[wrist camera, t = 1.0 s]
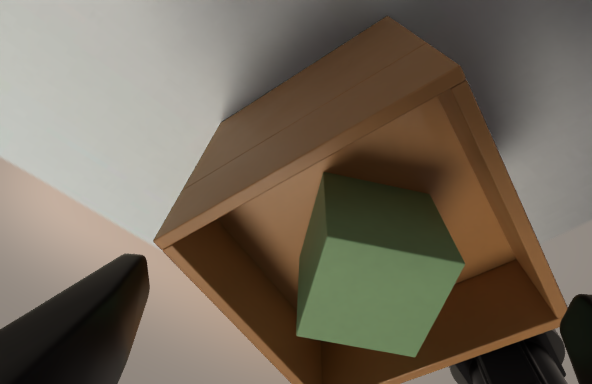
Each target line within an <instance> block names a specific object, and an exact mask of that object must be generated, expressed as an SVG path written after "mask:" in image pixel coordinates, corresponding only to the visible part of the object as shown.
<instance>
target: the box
mask: <svg viewBox="0 0 592 384" xmlns="http://www.w3.org/2000/svg"><path fill="white" fill-rule="evenodd" d="M323 172H327V173H332V174H337V175H342V176H346V177H351V178H356V179H361V180H365V181H370V182H375V183H379V184H384V185H389V186H394V187H398V188H403V189H408V190H413V191H417V192H422V193H427V194H430V196H431V197H432V199H433V201H434V203H435V205H436V207H437V209H438V211H439V213H440V215H441V217H442V219H443V221H444V223H445V225H446V227H447V229H448V231H449V233H450V235H451V237H452V239H453V241H454V243H455V244H456V246H457V248H458V250H459V252H460V254H461V256H462V258H463V260H464V262H465V266H464V268H463V270H462V271H461V273H460V275H459V277H458V279H457V281H456V283H455V284H454V286H453V288H452V290H451V292H450V294H449V296H448V297H447V299H446V301H445V303H444V305H443V307H442V309H441V311H440V312H439V314H438V316H437V318H436V320H435V322H434V324H433V325H432V327H431V329H430V331H429V333H428V335H427V337H426V338H425V340H424V342H423V344H422V346H421V348H420V350H419V352H418V353H417V355H416V357H410V356H405V355H399V354H394V353H388V352H383V351H377V350H371V349H366V348H360V347H355V346H349V345H344V344H338V343H332V342H327V341H321V340H316V339H310V338H305V337H299V336H296V323H297V300H298V276H299V257H300V253H301V250H302V246H303V243H304V239H305V235H306V232H307V228H308V225H309V221H310V218H311V214H312V210H313V207H314V203H315V200H316V196H317V193H318V189H319V185H320V182H321V178H322V175H323ZM153 241H154V243H155V244H156V245H157V246H158V247H159V248H160V249H161V250H163V252H164V253H165V254H166V255H167V256H168V257H169V258H170V259H171V260H172V261H173V262H174V263H175V264H176V265H177V266H178V267H179V268H180V269H181V270H182V271H183V273H184V274H185V275H186V276H187V277H188V278H189V279H190V280H191V281H192V282H193V283H194V284H195V285H196V286H197V287H198V288H199V289H200V290H201V291H202V292H203V293H204V294H205V295H206V296H207V297H208V298H209V299H210V300H211V301H212V302H213V303H214V304H215V305H216V306H217V307H218V308H219V310H220V311H222V313H223V314H224V315H225V316H226V317H227V318H228V319H229V320H230V321H231V322H232V323H233V324H234V325H235V326H236V327H237V328H238V329H239V330H240V331H241V332H242V333H243V334H244V335H245V336H246V337H247V338H248V339H249V340H250V341H251V342H252V343H253V344H254V345H255V347H256V348H257V349H258V350H260V352H261V353H262V354H263V355H264V356H265V357H266V358H267V359H268V360H269V361H270V362H271V363H272V364H273V365H274V366H275V367H276V368H277V369H278V370H279V371H280V372H281V373H282V374H283V375H284V376H285V377H286V378H287V379H288V380H289V381H290V383H292V384H400V383H403V382H406V381H409V380H411V379H414V378H417V377H420V376H422V375H426V374H429V373H431V372H434V371H437V370H440V369H442V368H445V367H448V366H451V365H454V364H457V363H460V362H462V361H465V360H468V359H471V358H474V357H476V356H479V355H482V354H485V353H488V352H491V351H493V350H496V349H499V348H502V347H505V346H507V345H510V344H513V343H516V342H519V341H522V340H524V339H527V338H530V337H533V336H536V335H538V334H541V333H544V332H547V331H550V330H553V329H555V328H558V327H560V322H561V319H562V318H563V316H564V314H565V312H566V310H567V309H568V307H567V305H566V303H565V301H564V298H563V296H562V294H561V292H560V289H559V287H558V285H557V283H556V280H555V278H554V276H553V274H552V271H551V269H550V267H549V264H548V262H547V260H546V258H545V255H544V253H543V251H542V249H541V246H540V244H539V242H538V240H537V237H536V235H535V233H534V231H533V228H532V226H531V224H530V222H529V219H528V217H527V215H526V213H525V210H524V208H523V206H522V203H521V201H520V199H519V197H518V194H517V192H516V190H515V188H514V185H513V183H512V181H511V179H510V176H509V174H508V172H507V170H506V167H505V165H504V163H503V161H502V158H501V156H500V154H499V152H498V149H497V147H496V145H495V143H494V140H493V138H492V136H491V133H490V131H489V129H488V127H487V124H486V122H485V120H484V118H483V115H482V113H481V111H480V109H479V106H478V104H477V102H476V100H475V97H474V95H473V93H472V91H471V88H470V86H469V84H468V82H467V81H466V77H465V75H464V73H463V70H462V68H461V66H460V65H459V64H457V63H456V62H454V61H453V60H451V59H450V58H448V57H447V56H446V55H444V54H443V53H441V52H440V51H438V50H437V49H435V48H434V47H433V46H431V45H430V44H428V43H426V42H425V41H424V40H422V39H421V38H419V37H418V36H416V35H415V34H413V33H412V32H411V31H409V30H408V29H406V28H405V27H403V26H402V25H400V24H399V23H398V22H396V21H395V20H393V19H392V18H390V17H389V16H386V17H385V18H383V19H382V20H380V21H378V22H377V23H375V24H374V25H372V26H371V27H369V28H368V29H366V30H364V31H363V32H361V33H360V34H358V35H357V36H355V37H354V38H352V39H351V40H349V41H347V42H346V43H344V44H343V45H341V46H340V47H338V48H337V49H335V50H333V51H332V52H330V53H329V54H327V55H326V56H324V57H323V58H321V59H319V60H318V61H316V62H315V63H313V64H312V65H310V66H309V67H307V68H305V69H304V70H302V71H301V72H299V73H298V74H296V75H295V76H293V77H291V78H290V79H288V80H287V81H285V82H284V83H282V84H281V85H279V86H277V87H276V88H274V89H273V90H271V91H270V92H268V93H267V94H265V95H263V96H262V97H260V98H259V99H257V100H256V101H254V102H253V103H251V104H250V105H248V106H246V107H245V108H243V109H242V110H240V111H239V112H237V113H236V114H234V115H232V116H231V117H229V118H228V119H226V120H225V121H223V122H222V123H220V125H219V127H218V128H217V130H216V132H215V134H214V135H213V137H212V139H211V141H210V142H209V144H208V146H207V148H206V149H205V151H204V153H203V155H202V156H201V158H200V160H199V162H198V164H197V165H196V167H195V169H194V171H193V172H192V174H191V176H190V178H189V179H188V181H187V183H186V185H185V186H184V188H183V190H182V191H181V193H180V195H179V197H178V198H177V200H176V202H175V204H174V205H173V207H172V209H171V211H170V212H169V214H168V216H167V218H166V219H165V221H164V223H163V225H162V226H161V228H160V230H159V232H158V233H157V235H156V237H155V239H154V240H153Z"/></svg>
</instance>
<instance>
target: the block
mask: <svg viewBox="0 0 592 384" xmlns="http://www.w3.org/2000/svg"><path fill="white" fill-rule="evenodd" d="M464 266H465V262H464V260H463V258H462V256H461V254H460V252H459V250H458V248H457V246H456V244H455V243H454V241H453V239H452V237H451V235H450V233H449V231H448V229H447V227H446V225H445V223H444V221H443V219H442V217H441V215H440V213H439V211H438V209H437V207H436V205H435V203H434V201H433V199H432V197H431V196H430V194H427V193H422V192H417V191H413V190H408V189H403V188H398V187H394V186H389V185H384V184H379V183H375V182H370V181H365V180H361V179H356V178H351V177H346V176H342V175H337V174H332V173H327V172H323V175H322V178H321V182H320V185H319V189H318V193H317V196H316V200H315V203H314V207H313V210H312V214H311V218H310V221H309V225H308V228H307V232H306V235H305V239H304V243H303V246H302V250H301V253H300V257H299V276H298V300H297V323H296V336H299V337H305V338H310V339H316V340H321V341H327V342H332V343H338V344H344V345H349V346H355V347H360V348H366V349H371V350H377V351H383V352H388V353H394V354H399V355H405V356H410V357H416V355H417V353H418V352H419V350H420V348H421V346H422V344H423V342H424V340H425V338H426V337H427V335H428V333H429V331H430V329H431V327H432V325H433V324H434V322H435V320H436V318H437V316H438V314H439V312H440V311H441V309H442V307H443V305H444V303H445V301H446V299H447V297H448V296H449V294H450V292H451V290H452V288H453V286H454V284H455V283H456V281H457V279H458V277H459V275H460V273H461V271H462V270H463V268H464Z"/></svg>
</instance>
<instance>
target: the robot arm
mask: <svg viewBox="0 0 592 384" xmlns="http://www.w3.org/2000/svg"><path fill="white" fill-rule="evenodd" d="M149 289H150V285H149V276H148V268H147V261H146V258H145V257H144V256H143V255H137V254H123V255H121V256H120V257H118V258H116V259H115V260H113V261H112V262H110V263H108V264H107V265H105V266H103V267H102V268H100V269H99V270H97V271H95V272H93V273H92V274H90V275H89V276H87V277H86V278H84V279H82V280H80V281H79V282H77V283H75V284H74V285H72V286H71V287H69V288H67V289H66V290H64V291H62V292H61V293H59V294H57V295H56V296H54V297H53V298H51V299H50V300H48V301H46V302H45V303H43V304H41V305H40V306H38V307H36V308H35V309H33V310H31V311H30V312H29V313H27V314H25V315H24V316H22V317H20V318H19V319H17V320H15V321H13V322H12V323H10V324H9V325H7V326H5V327H4V328H2V329H0V384H117V383H118V381H119V379H120V377H121V374H122V372H123V370H124V367H125V365H126V362H127V360H128V357H129V354H130V351H131V348H132V345H133V342H134V339H135V336H136V332H137V329H138V326H139V323H140V320H141V317H142V314H143V311H144V308H145V305H146V302H147V299H148V295H149ZM560 333H561V336H562V339H563V342H564V344H565V347H566V350H567V352H568V355H569V358H570V361H571V363H572V366H573V369H574V371H575V374H576V377H577V379H578V382H579V384H592V295H587V294H579V295H576V296H575V297H574V298H573V300H572V302H571V303H570V305H569V307H568V309H567V310H566V312H565V314H564V316H563V318H562V319H561V322H560ZM455 365H456V367H457V368H458V370H459V371H460V373H461V374H462V376H463V377H464V378H465V380H466V381H467V383H468V384H567V382H566V380H565V379H564V377H565V376H566V373H565V371H564V369H563V367H562V365H561V363H560V361H559V359H558V357H557V355H556V353H555V351H554V349H553V347H552V345H551V343H550V341H549V339H548V337H547V335H546V333H545V332H544V333H541V334H538V335H536V336H533V337H530V338H527V339H524V340H522V341H519V342H516V343H513V344H510V345H507V346H505V347H502V348H499V349H496V350H493V351H491V352H488V353H485V354H482V355H479V356H476V357H474V358H471V359H468V360H465V361H462V362H460V363H457V364H455Z"/></svg>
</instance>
